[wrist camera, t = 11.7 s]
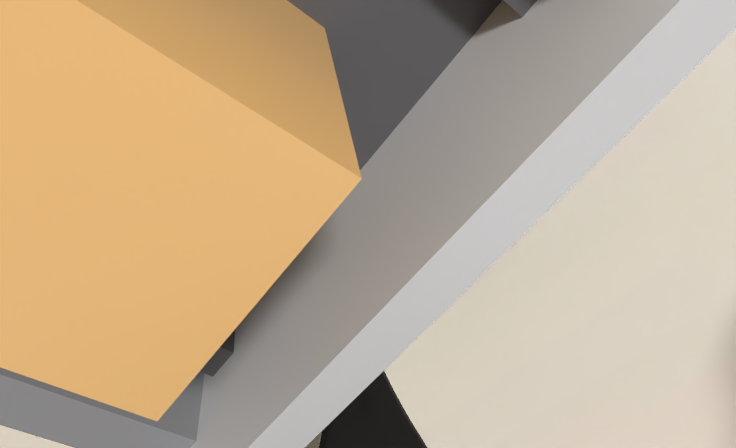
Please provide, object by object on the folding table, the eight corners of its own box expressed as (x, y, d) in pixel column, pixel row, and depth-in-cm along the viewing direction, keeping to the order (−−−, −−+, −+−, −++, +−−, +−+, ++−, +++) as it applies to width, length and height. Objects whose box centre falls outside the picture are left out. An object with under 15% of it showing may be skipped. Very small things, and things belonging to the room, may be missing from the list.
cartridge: (324, 27, 10) (361, 178, 6) (199, 202, 11) (156, 421, 7) (7, -206, 8) (-292, -231, 4) (-97, 46, 9) (-393, 232, 5)
